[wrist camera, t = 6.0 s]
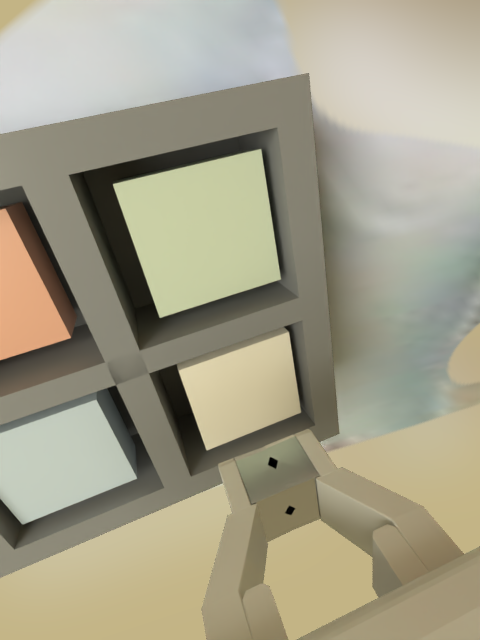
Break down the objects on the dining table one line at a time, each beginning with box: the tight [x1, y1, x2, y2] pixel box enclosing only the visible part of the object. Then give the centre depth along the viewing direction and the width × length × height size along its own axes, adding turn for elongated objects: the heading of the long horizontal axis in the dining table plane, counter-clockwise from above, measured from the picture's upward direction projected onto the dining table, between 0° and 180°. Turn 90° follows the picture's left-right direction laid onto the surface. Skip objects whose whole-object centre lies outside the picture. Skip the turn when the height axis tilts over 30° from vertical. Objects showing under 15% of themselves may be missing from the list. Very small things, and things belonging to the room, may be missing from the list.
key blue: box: [0, 388, 137, 525], centre depth 14 cm, size 5×5×2 cm
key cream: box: [177, 327, 301, 450], centre depth 16 cm, size 5×5×2 cm
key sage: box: [113, 149, 281, 318], centre depth 13 cm, size 5×5×2 cm
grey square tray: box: [0, 73, 339, 578], centre depth 14 cm, size 16×15×5 cm
